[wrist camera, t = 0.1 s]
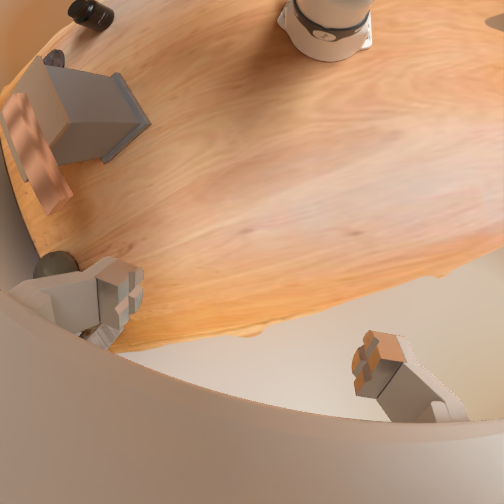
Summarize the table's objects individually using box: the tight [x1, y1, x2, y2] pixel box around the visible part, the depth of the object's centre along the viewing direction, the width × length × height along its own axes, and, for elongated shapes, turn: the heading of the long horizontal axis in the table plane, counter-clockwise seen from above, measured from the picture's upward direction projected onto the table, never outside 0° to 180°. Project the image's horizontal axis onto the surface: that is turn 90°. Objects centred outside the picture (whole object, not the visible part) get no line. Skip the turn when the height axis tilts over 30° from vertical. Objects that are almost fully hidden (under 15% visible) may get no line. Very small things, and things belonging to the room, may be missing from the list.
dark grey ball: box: [33, 251, 78, 279], centre depth 64 cm, size 14×14×15 cm
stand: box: [0, 56, 151, 183], centre depth 42 cm, size 16×14×26 cm
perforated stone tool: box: [43, 49, 64, 67], centre depth 48 cm, size 15×5×7 cm, turn 116°
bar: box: [2, 93, 74, 216], centre depth 30 cm, size 21×4×3 cm, turn 32°
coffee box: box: [79, 323, 124, 350], centre depth 69 cm, size 9×6×16 cm
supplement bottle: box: [68, 0, 114, 31], centre depth 39 cm, size 7×7×12 cm
